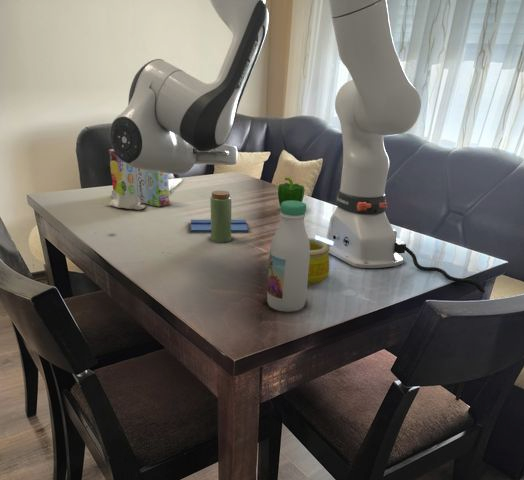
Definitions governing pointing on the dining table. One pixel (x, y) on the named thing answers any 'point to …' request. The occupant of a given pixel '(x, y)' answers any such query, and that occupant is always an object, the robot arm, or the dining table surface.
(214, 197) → the spice jar
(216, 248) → the dining table surface
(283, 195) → the bell pepper
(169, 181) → the unicorn horn
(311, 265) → the mug
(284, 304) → the milk bottle
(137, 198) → the fabric
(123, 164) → the snack box
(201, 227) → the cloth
